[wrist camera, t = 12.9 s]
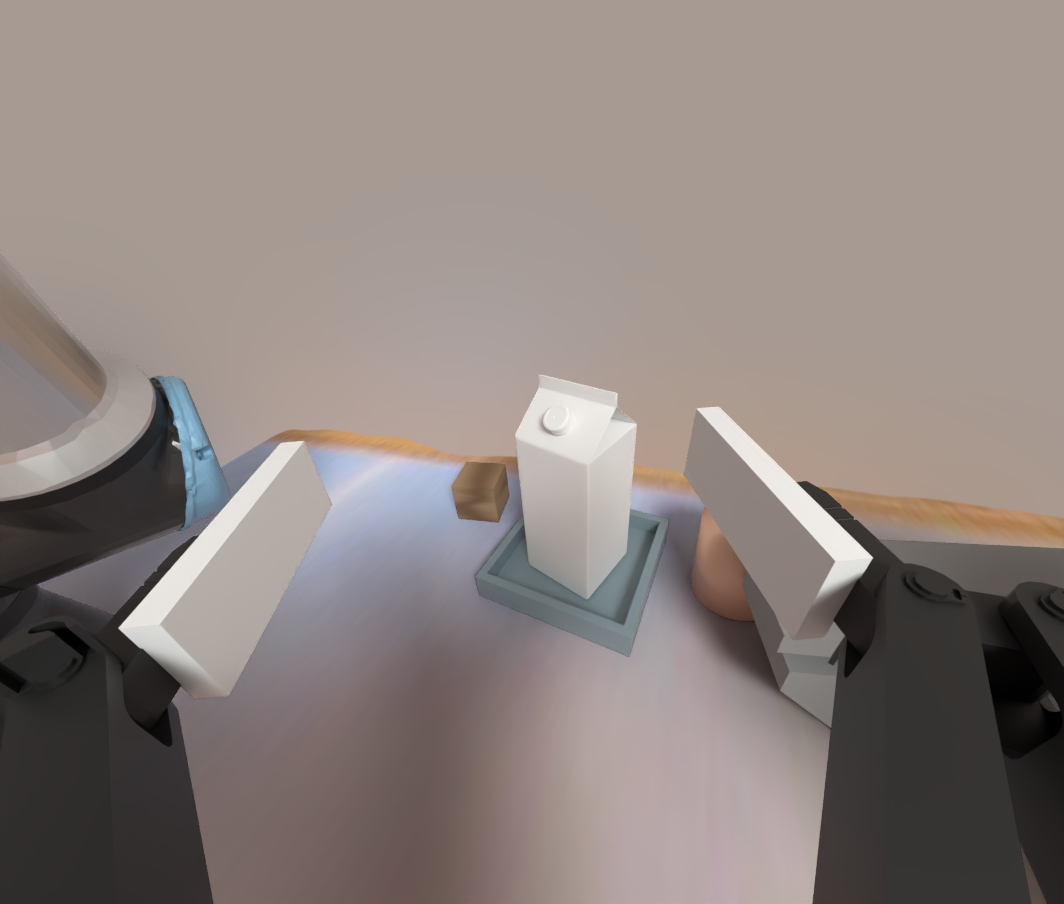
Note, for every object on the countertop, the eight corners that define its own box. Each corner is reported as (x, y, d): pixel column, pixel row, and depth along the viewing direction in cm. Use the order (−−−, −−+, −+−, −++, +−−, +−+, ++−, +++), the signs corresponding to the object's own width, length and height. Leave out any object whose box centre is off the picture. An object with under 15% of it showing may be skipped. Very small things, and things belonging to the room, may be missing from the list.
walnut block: (458, 519, 48) (451, 486, 45) (472, 493, 52) (466, 461, 49) (498, 522, 47) (493, 489, 44) (509, 496, 51) (505, 464, 48)
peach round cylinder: (679, 597, 36) (690, 534, 32) (703, 548, 41) (715, 487, 37) (765, 636, 33) (789, 570, 28) (780, 577, 37) (804, 513, 33)
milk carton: (569, 525, 44) (565, 361, 34) (626, 554, 40) (641, 377, 30) (528, 565, 40) (508, 390, 30) (587, 601, 36) (588, 413, 25)
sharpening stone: (741, 729, 27) (783, 635, 21) (714, 626, 34) (741, 533, 28) (1199, 786, 23) (1406, 689, 17) (1068, 656, 30) (1186, 554, 24)
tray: (479, 594, 38) (475, 576, 37) (544, 503, 49) (543, 487, 47) (629, 657, 32) (631, 638, 31) (666, 537, 43) (669, 519, 41)
